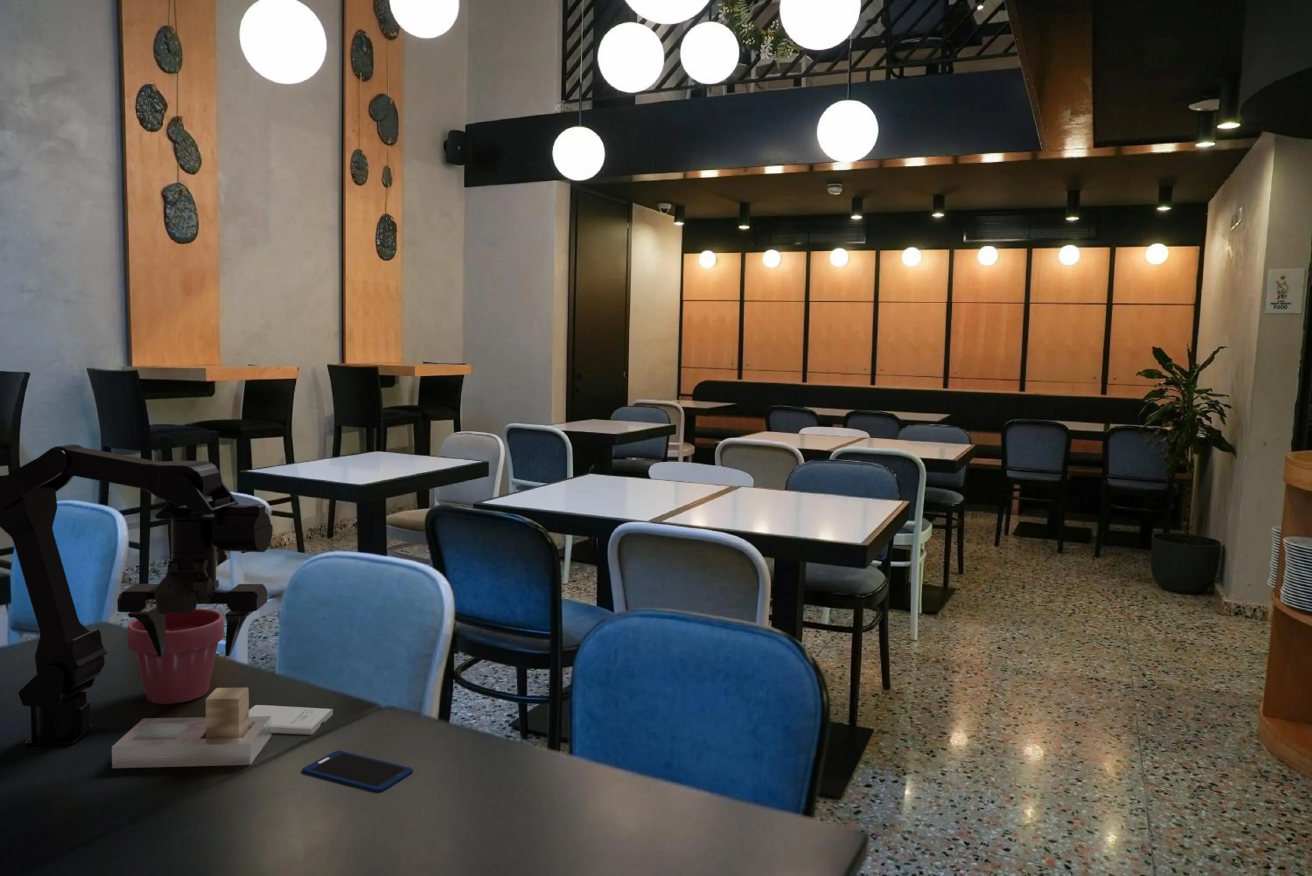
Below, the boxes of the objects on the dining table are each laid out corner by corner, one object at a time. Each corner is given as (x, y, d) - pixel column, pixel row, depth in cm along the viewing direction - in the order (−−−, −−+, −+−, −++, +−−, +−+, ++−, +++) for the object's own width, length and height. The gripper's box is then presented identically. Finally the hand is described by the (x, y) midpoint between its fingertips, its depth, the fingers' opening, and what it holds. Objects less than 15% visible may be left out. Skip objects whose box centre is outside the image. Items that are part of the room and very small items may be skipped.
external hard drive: (256, 713, 146) (333, 716, 146) (230, 734, 138) (311, 737, 138) (256, 703, 146) (333, 707, 146) (230, 723, 138) (311, 727, 138)
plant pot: (109, 698, 149) (108, 621, 148) (189, 674, 162) (188, 603, 161) (163, 716, 143) (162, 636, 142) (242, 690, 155) (242, 616, 154)
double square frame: (112, 767, 125) (111, 746, 124) (143, 738, 135) (143, 718, 134) (250, 764, 127) (250, 743, 127) (271, 735, 137) (271, 715, 137)
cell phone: (336, 754, 132) (337, 749, 132) (415, 773, 127) (415, 768, 127) (298, 774, 125) (298, 769, 125) (380, 796, 120) (380, 790, 120)
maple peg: (206, 757, 129) (205, 699, 128) (217, 744, 133) (216, 687, 132) (239, 756, 129) (238, 698, 129) (248, 743, 134) (248, 687, 133)
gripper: (97, 561, 122) (99, 675, 123) (244, 562, 124) (244, 673, 126) (134, 545, 133) (135, 649, 134) (268, 545, 135) (268, 648, 137)
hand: (195, 655), depth 133 cm, fingers open, 9 cm apart
